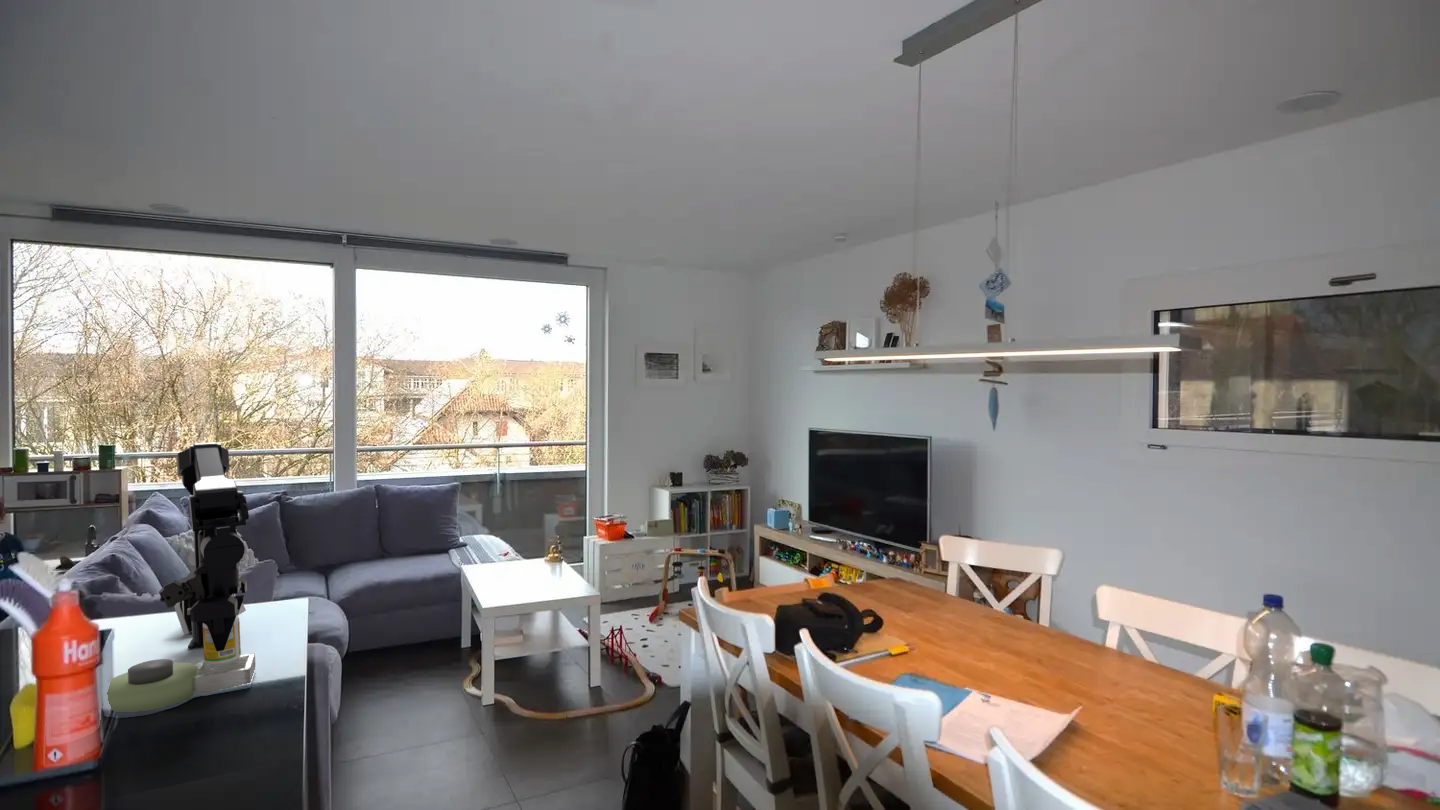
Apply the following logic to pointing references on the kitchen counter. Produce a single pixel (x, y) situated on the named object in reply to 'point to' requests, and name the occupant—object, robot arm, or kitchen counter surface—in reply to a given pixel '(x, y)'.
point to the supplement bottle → (231, 648)
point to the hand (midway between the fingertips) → (222, 645)
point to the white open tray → (223, 674)
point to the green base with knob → (151, 686)
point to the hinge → (187, 623)
